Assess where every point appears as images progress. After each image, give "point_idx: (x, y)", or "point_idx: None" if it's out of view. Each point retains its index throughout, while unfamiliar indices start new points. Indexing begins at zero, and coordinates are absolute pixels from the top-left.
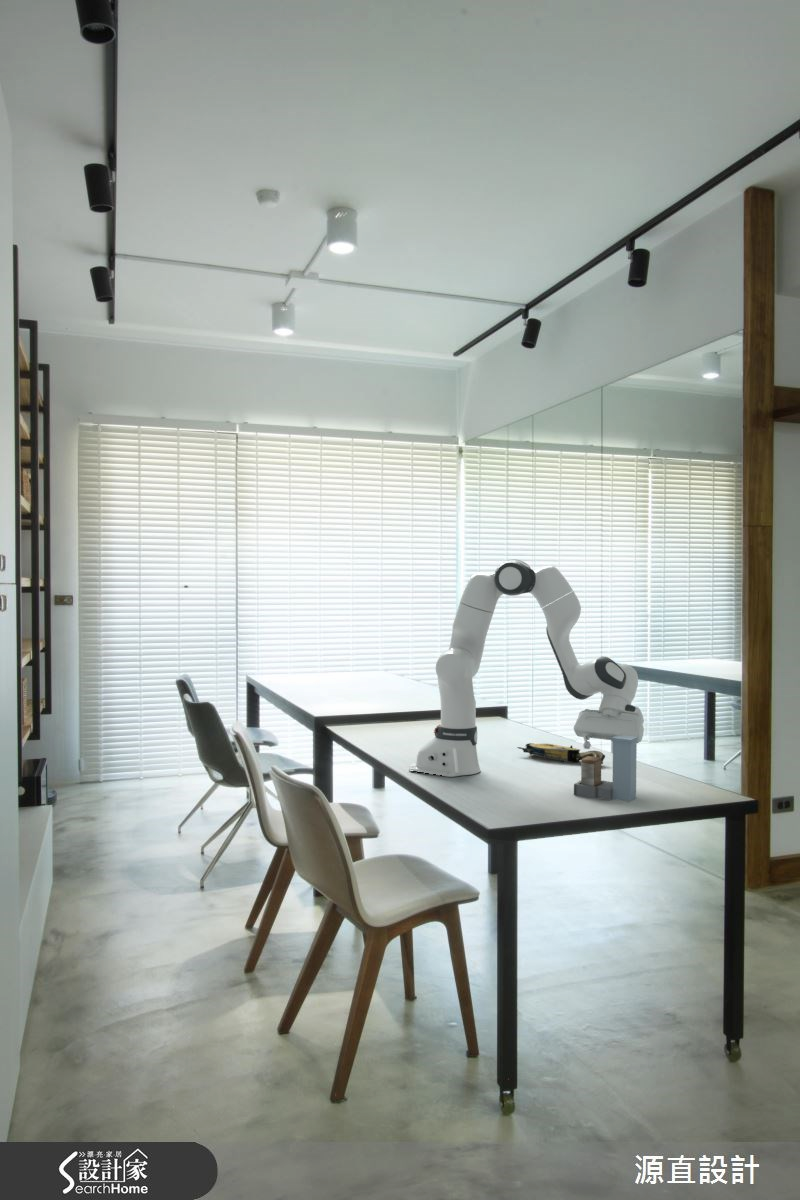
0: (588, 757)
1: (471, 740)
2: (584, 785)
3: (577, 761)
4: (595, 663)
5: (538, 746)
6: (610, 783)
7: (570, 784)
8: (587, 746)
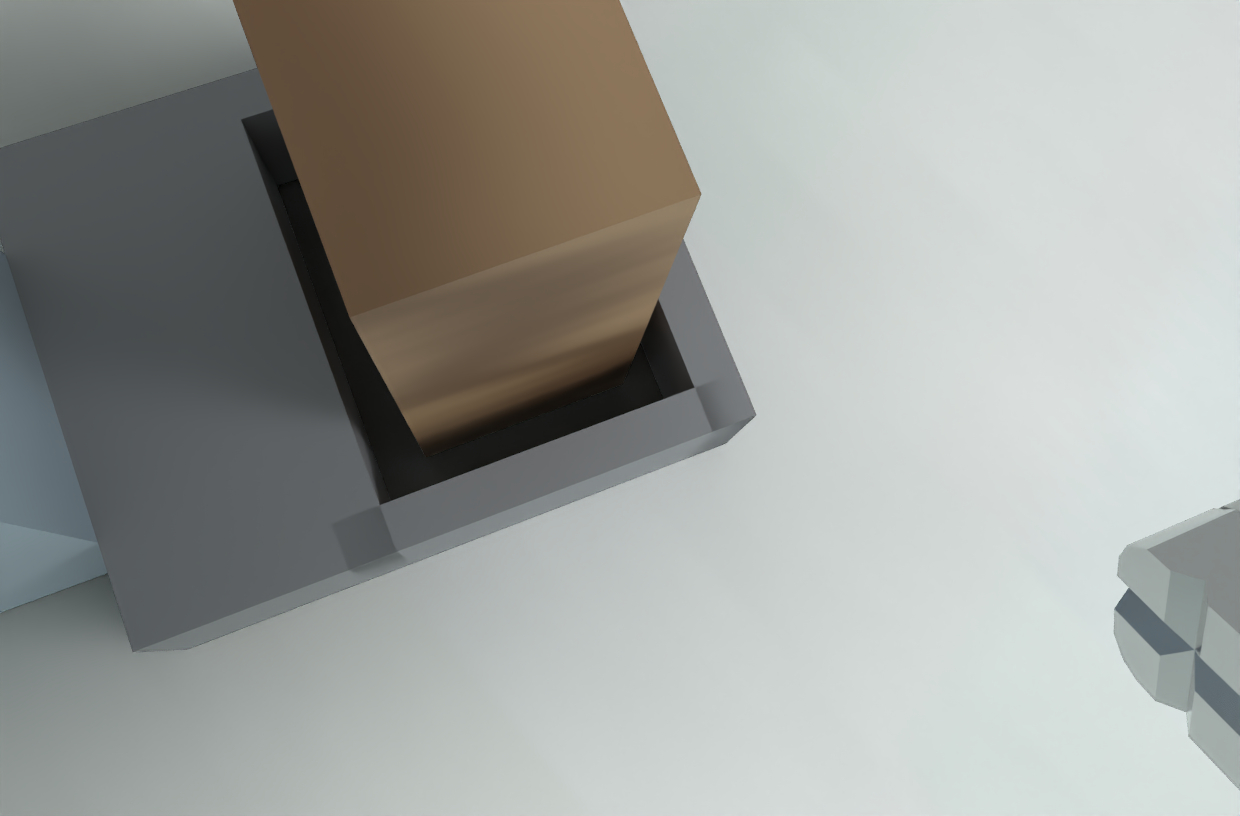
0: (568, 75)
1: None
2: None
3: None
4: None
5: None
6: (238, 481)
7: (1029, 462)
8: (1142, 540)
